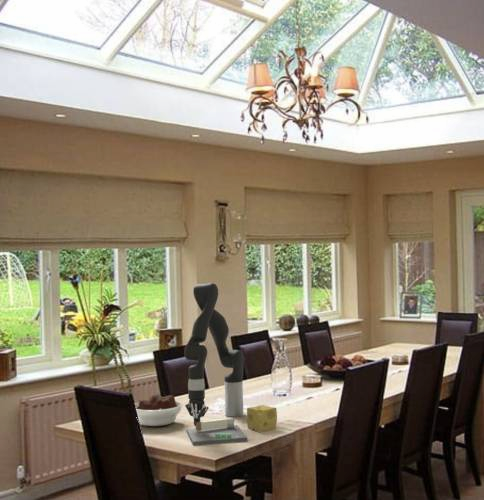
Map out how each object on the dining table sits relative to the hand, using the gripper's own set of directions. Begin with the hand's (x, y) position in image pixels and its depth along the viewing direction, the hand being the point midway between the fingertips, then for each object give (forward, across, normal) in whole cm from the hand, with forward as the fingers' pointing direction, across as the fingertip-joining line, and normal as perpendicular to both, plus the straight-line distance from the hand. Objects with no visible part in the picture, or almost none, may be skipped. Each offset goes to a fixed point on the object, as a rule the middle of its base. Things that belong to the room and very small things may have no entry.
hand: (197, 425), depth 330 cm
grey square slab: (+4, +10, +1) cm, 11 cm away
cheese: (+4, +19, +24) cm, 31 cm away
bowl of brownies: (+4, -30, +3) cm, 30 cm away
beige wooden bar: (+2, +6, +6) cm, 9 cm away
